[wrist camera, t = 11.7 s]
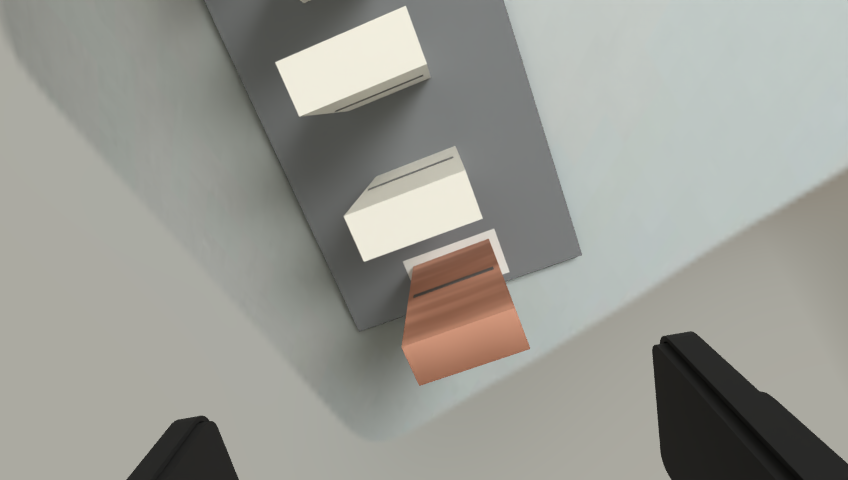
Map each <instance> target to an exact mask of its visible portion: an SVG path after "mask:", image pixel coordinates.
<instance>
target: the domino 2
mask: <svg viewBox="0 0 848 480" xmlns="http://www.w3.org/2000/svg"><path fill="white" fill-rule="evenodd" d="M344 218H345V221H346V223H347V225H348V227H349V230H350V232H351V234H352V236H353V239H354V241H355V243H356V245H357V247H358V250H359V252H360V254H361V256H362V259H363V261H364V262H365V261H368V260H371V259H373V258H376V257H379V256H382V255H384V254H387V253H390V252H393V251H395V250H398V249H401V248H404V247H406V246H409V245H412V244H415V243H417V242H420V241H423V240H426V239H428V238H431V237H434V236H437V235H439V234H442V233H445V232H448V231H450V230H453V229H456V228H459V227H461V226H464V225H467V224H470V223H472V222H475V221H478V220H481V219H483V218H482V215H481V212H480V209H479V207H478V204H477V201H476V198H475V196H474V193H473V190H472V187H471V184H470V182H469V179H468V176H467V173H466V171H465V168H464V166H463V163H462V161H461V158H460V156H459V154H458V151H457V149H456V146H453V147H451V148H448V149H446V150H443V151H440V152H438V153H435V154H433V155H430V156H428V157H425V158H422V159H420V160H417V161H415V162H412V163H409V164H407V165H404V166H402V167H399V168H397V169H394V170H391V171H389V172H386V173H384V174H381V175H378V176H376V177H375V178H374V179H373V181H372V182H371V183H370V184H369V186H368V187H367V188H366V189H365V191H364V192H363V193H362V194H361V195H360V197H359V198H358V199H357V200H356V202H355V203H354V204H353V205H352V207H351V208H350V209H349V210H348V211H347V213H346V214H345V215H344Z"/></svg>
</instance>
